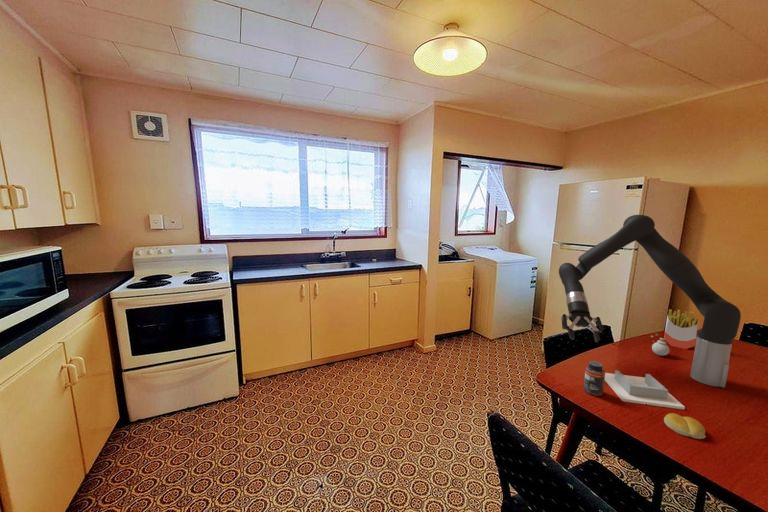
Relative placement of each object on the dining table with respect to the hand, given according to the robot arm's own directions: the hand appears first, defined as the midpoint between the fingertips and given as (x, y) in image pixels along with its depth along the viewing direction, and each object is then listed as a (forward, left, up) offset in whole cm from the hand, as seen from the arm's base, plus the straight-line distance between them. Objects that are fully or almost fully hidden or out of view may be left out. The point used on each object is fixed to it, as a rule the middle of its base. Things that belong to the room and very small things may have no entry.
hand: (585, 340), depth 119 cm
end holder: (-18, -3, -15) cm, 24 cm away
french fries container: (-29, -66, -16) cm, 74 cm away
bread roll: (-30, +13, -16) cm, 36 cm away
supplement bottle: (-6, +10, -16) cm, 19 cm away
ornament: (-22, -47, -16) cm, 54 cm away
